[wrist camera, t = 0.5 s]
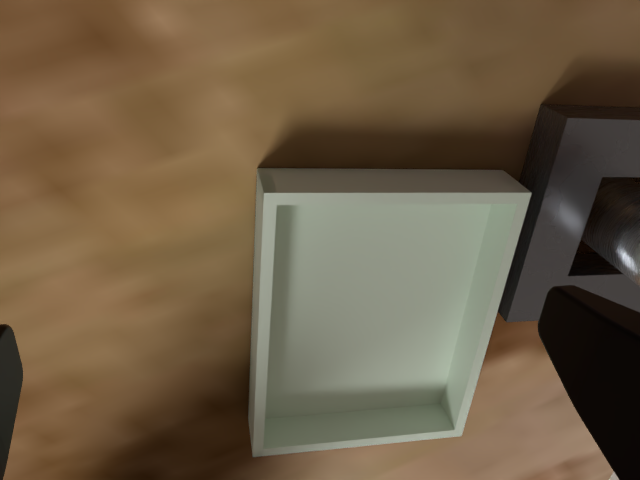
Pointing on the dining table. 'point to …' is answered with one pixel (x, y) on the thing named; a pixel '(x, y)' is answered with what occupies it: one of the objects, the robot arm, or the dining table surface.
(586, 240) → the salt shaker
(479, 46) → the dining table surface
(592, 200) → the collar
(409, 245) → the tray
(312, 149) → the dining table surface
